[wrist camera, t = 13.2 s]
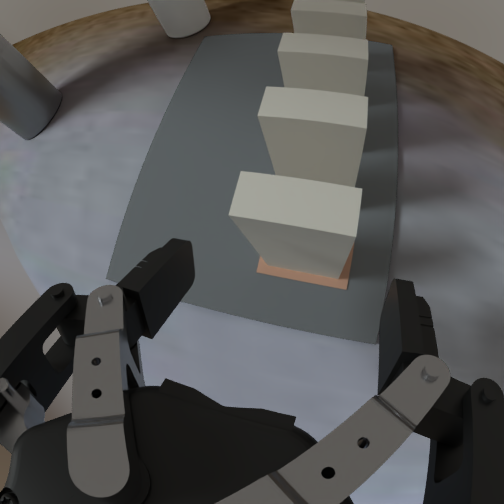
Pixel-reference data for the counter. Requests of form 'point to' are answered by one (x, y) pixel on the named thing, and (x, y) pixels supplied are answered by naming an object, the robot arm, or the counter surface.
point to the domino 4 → (297, 221)
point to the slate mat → (258, 160)
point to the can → (181, 16)
